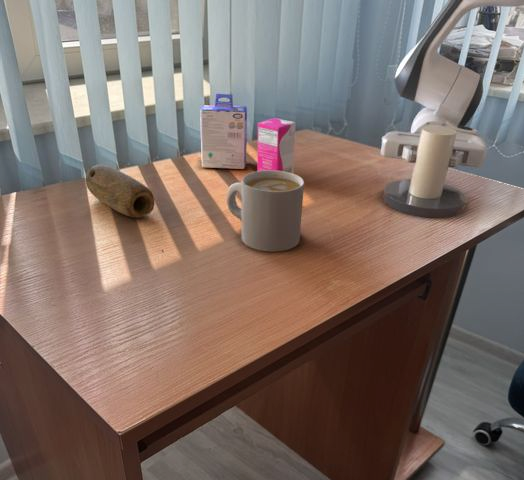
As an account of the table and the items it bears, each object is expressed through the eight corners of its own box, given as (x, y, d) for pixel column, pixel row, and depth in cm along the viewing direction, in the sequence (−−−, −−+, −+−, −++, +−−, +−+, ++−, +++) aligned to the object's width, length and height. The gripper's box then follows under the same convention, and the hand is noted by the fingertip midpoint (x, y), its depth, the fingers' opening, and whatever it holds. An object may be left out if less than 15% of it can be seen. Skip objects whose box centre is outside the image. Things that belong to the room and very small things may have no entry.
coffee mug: (310, 238, 89) (316, 180, 83) (273, 257, 83) (277, 197, 77) (253, 215, 96) (254, 161, 90) (215, 232, 90) (213, 174, 84)
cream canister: (431, 186, 107) (445, 124, 100) (447, 197, 102) (464, 134, 95) (402, 188, 105) (415, 125, 98) (418, 200, 101) (433, 135, 93)
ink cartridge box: (246, 162, 120) (247, 93, 111) (245, 170, 116) (246, 99, 107) (204, 160, 120) (201, 91, 111) (201, 168, 116) (198, 97, 107)
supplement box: (272, 171, 116) (274, 116, 109) (293, 178, 113) (297, 122, 106) (255, 178, 112) (257, 121, 105) (277, 185, 109) (280, 127, 102)
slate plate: (437, 185, 113) (439, 176, 112) (480, 214, 101) (483, 205, 99) (370, 189, 109) (371, 181, 108) (405, 220, 97) (407, 211, 96)
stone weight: (81, 202, 98) (75, 166, 94) (112, 192, 103) (107, 158, 98) (131, 226, 91) (126, 188, 87) (162, 214, 95) (159, 178, 91)
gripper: (384, 120, 109) (380, 138, 99) (485, 130, 106) (493, 149, 95) (379, 151, 113) (375, 171, 103) (476, 161, 110) (483, 183, 99)
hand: (433, 160), depth 99 cm, fingers closed on cream canister, 6 cm apart
